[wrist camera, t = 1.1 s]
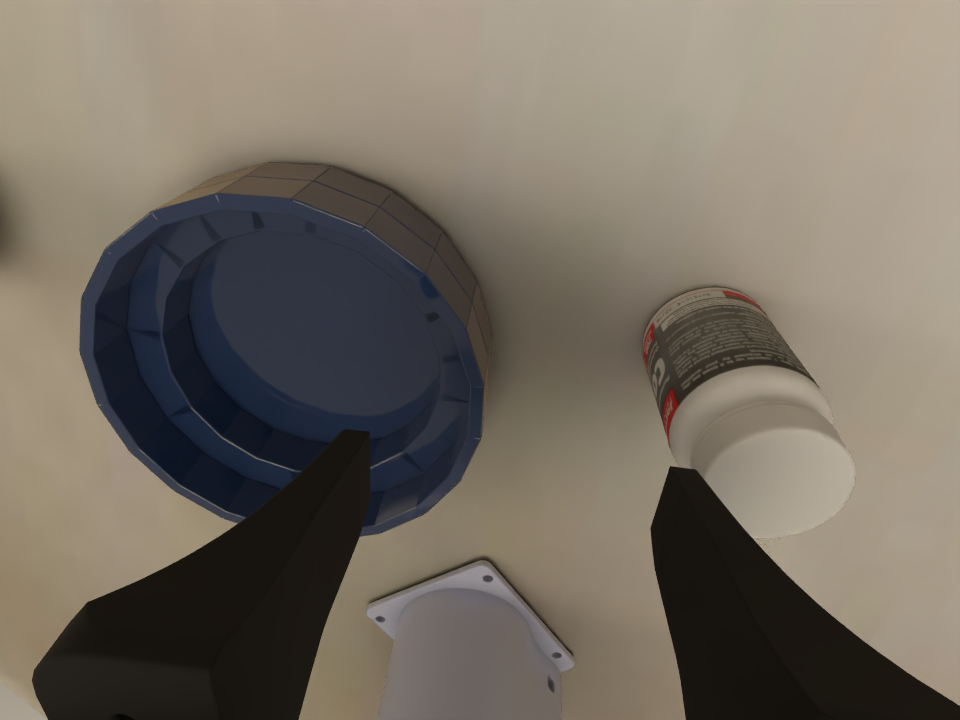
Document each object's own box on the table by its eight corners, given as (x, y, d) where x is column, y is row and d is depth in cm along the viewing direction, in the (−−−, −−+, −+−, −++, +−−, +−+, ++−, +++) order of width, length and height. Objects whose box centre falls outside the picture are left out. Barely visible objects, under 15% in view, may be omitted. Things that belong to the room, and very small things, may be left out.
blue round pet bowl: (555, 386, 25) (558, 455, 21) (307, 506, 30) (274, 581, 26) (342, 76, 20) (295, 95, 16) (81, 282, 25) (-4, 334, 21)
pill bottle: (620, 321, 24) (656, 461, 16) (739, 261, 22) (837, 388, 15) (671, 408, 25) (724, 568, 18) (785, 358, 24) (892, 513, 17)
